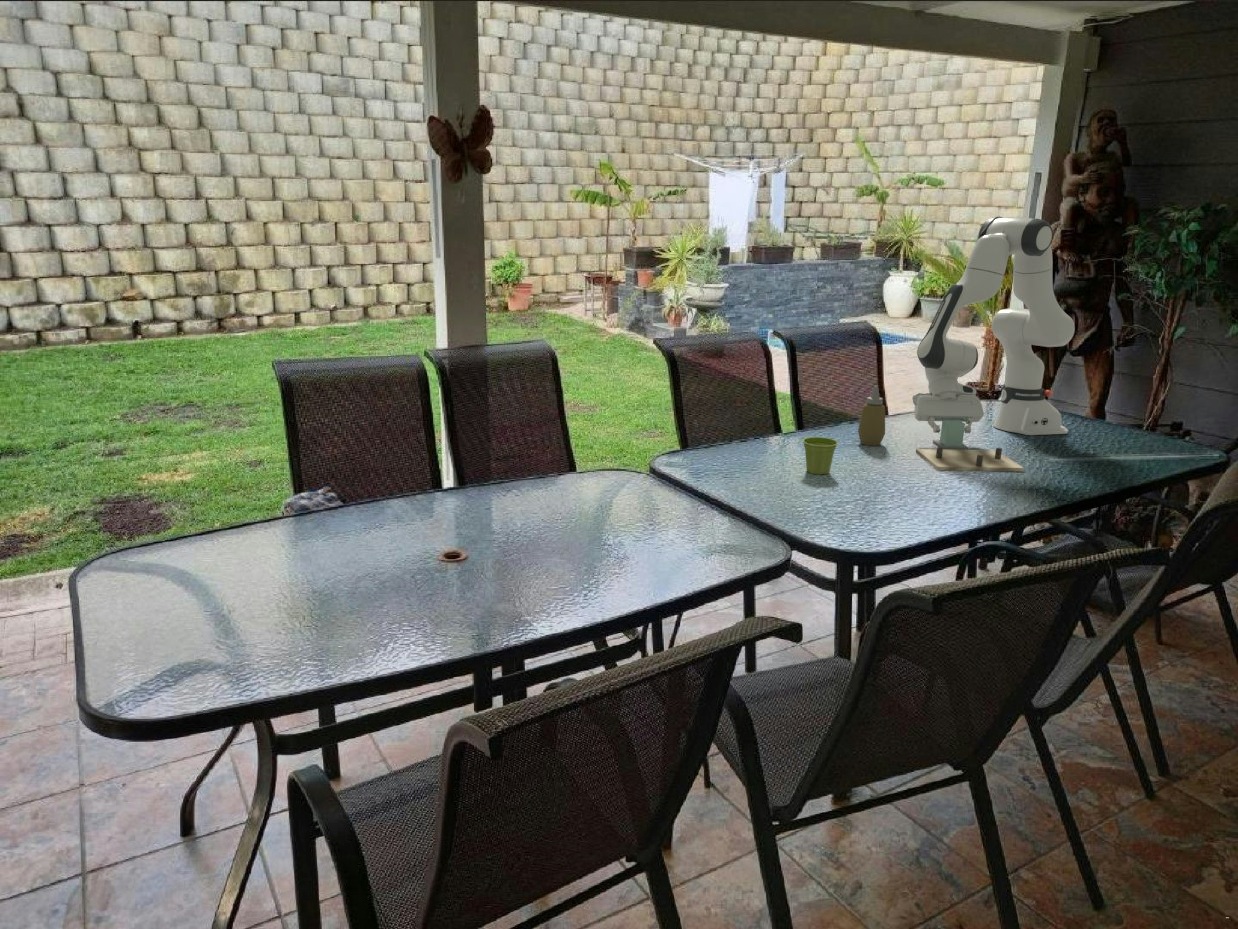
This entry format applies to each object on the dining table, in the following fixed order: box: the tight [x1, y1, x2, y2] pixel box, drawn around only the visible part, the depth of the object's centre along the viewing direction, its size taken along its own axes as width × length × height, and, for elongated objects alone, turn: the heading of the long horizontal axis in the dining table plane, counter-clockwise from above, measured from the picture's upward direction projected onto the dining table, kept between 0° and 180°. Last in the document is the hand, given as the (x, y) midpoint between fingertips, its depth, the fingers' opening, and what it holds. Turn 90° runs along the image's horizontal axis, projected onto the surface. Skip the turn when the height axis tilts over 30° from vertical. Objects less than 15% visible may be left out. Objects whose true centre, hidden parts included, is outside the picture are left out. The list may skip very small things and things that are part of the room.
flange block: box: [932, 420, 970, 450], centre depth 262 cm, size 8×8×8 cm
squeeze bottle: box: [857, 385, 886, 447], centre depth 262 cm, size 8×8×18 cm
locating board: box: [915, 446, 1025, 472], centre depth 247 cm, size 24×18×4 cm
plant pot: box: [802, 436, 839, 476], centre depth 235 cm, size 9×9×9 cm
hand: (952, 432), depth 261 cm, fingers open, 8 cm apart
